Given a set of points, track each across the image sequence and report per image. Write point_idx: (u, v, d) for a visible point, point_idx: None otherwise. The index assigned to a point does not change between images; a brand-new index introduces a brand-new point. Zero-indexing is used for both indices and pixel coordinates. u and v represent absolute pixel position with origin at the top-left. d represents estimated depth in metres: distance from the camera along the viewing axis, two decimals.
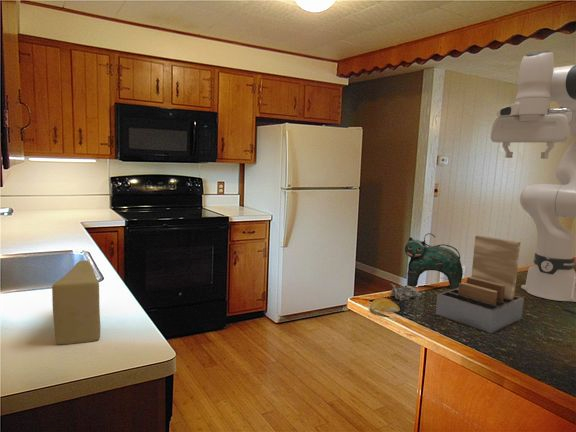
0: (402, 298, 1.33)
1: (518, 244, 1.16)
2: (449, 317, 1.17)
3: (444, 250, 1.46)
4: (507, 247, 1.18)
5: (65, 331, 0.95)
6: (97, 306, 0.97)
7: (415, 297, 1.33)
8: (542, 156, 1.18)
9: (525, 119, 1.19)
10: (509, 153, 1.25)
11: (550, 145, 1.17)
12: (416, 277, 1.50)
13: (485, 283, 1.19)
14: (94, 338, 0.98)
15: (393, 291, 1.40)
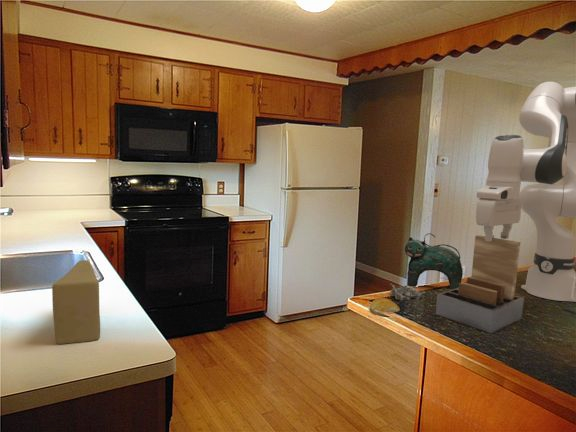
0: (403, 298, 1.33)
1: (518, 244, 1.16)
2: (449, 317, 1.17)
3: (444, 250, 1.46)
4: (507, 247, 1.18)
5: (65, 331, 0.96)
6: (97, 306, 0.98)
7: (415, 297, 1.33)
8: (507, 237, 1.23)
9: (511, 203, 1.17)
10: (493, 237, 1.17)
11: (511, 226, 1.24)
12: (416, 277, 1.50)
13: (485, 283, 1.19)
14: (94, 337, 0.98)
15: (393, 291, 1.40)
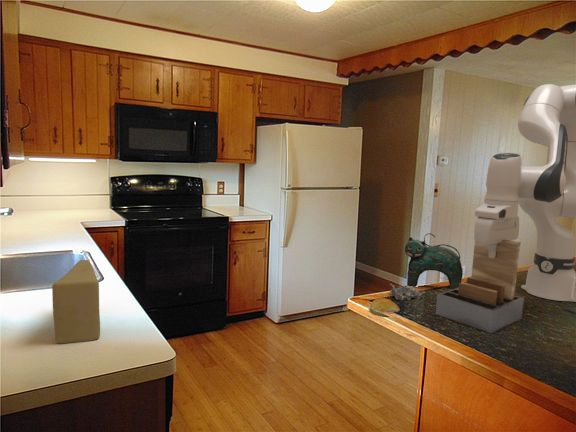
0: (403, 298, 1.33)
1: (518, 244, 1.17)
2: (449, 317, 1.17)
3: (444, 250, 1.46)
4: (507, 247, 1.18)
5: (65, 330, 0.96)
6: (97, 305, 0.98)
7: (416, 297, 1.34)
8: None
9: (509, 221, 1.18)
10: (496, 253, 1.20)
11: None
12: (416, 277, 1.50)
13: (485, 283, 1.19)
14: (94, 337, 0.98)
15: (392, 291, 1.40)
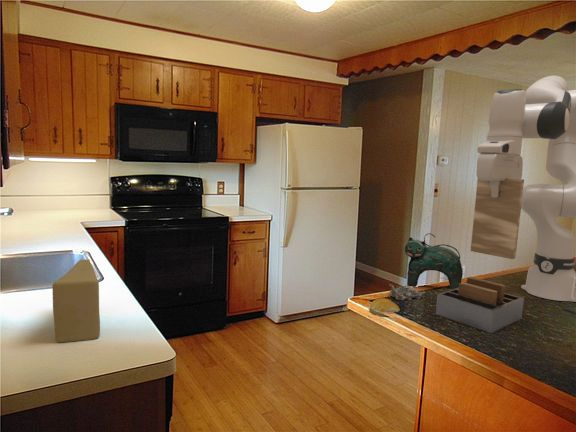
0: None
1: (522, 181, 1.13)
2: (449, 317, 1.17)
3: (444, 250, 1.46)
4: (510, 185, 1.15)
5: (65, 329, 0.97)
6: (97, 304, 0.98)
7: (417, 297, 1.34)
8: None
9: (513, 158, 1.14)
10: (499, 193, 1.17)
11: None
12: (416, 277, 1.50)
13: (485, 283, 1.19)
14: (94, 336, 0.99)
15: (392, 292, 1.39)
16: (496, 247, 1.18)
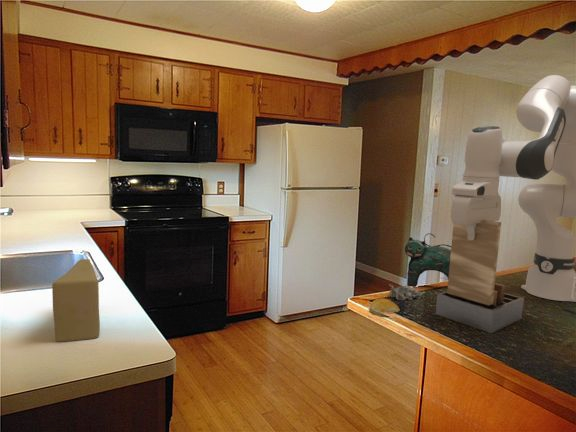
0: None
1: (499, 224, 1.07)
2: (449, 317, 1.17)
3: (444, 250, 1.46)
4: (487, 228, 1.09)
5: (65, 329, 0.97)
6: (96, 304, 0.99)
7: (417, 297, 1.34)
8: None
9: (489, 200, 1.09)
10: (475, 235, 1.11)
11: None
12: (416, 277, 1.50)
13: None
14: (93, 335, 0.99)
15: (392, 292, 1.39)
16: (473, 291, 1.13)
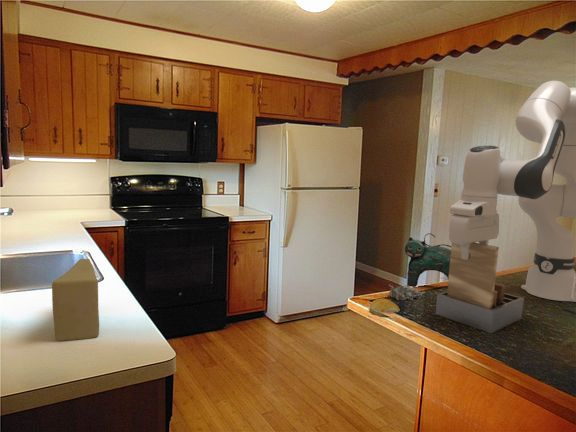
0: None
1: (496, 249, 1.08)
2: (449, 317, 1.17)
3: (444, 250, 1.46)
4: (484, 253, 1.10)
5: (65, 328, 0.97)
6: (96, 303, 0.99)
7: (418, 297, 1.34)
8: None
9: (487, 219, 1.09)
10: (469, 254, 1.10)
11: (487, 243, 1.15)
12: (416, 277, 1.50)
13: None
14: (93, 335, 1.00)
15: (392, 292, 1.39)
16: None
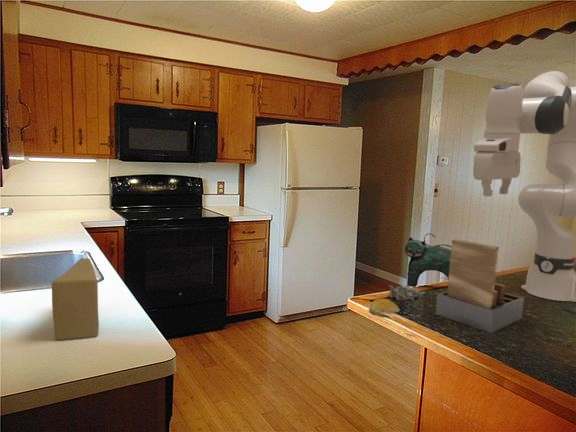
0: None
1: (496, 249, 1.08)
2: (449, 317, 1.17)
3: (444, 250, 1.46)
4: (484, 253, 1.10)
5: (64, 327, 0.98)
6: (95, 303, 0.99)
7: (418, 296, 1.34)
8: (506, 192, 1.18)
9: (510, 156, 1.12)
10: (491, 191, 1.13)
11: (510, 181, 1.19)
12: (416, 277, 1.50)
13: None
14: (92, 334, 1.00)
15: (392, 292, 1.38)
16: None
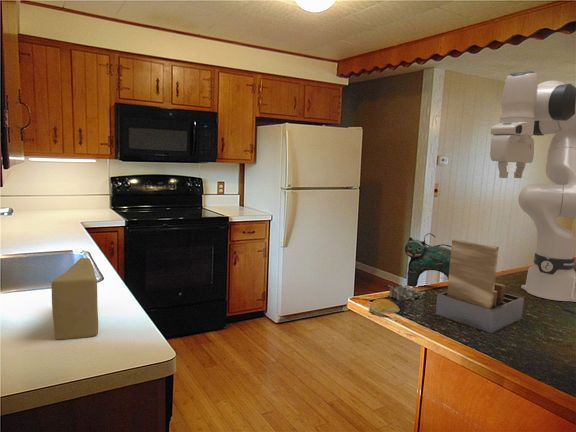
0: None
1: (496, 249, 1.08)
2: (449, 317, 1.17)
3: (444, 250, 1.46)
4: (484, 253, 1.10)
5: (64, 327, 0.98)
6: (95, 302, 1.00)
7: (418, 296, 1.34)
8: (520, 176, 1.23)
9: (525, 140, 1.17)
10: (507, 173, 1.18)
11: (524, 166, 1.24)
12: (416, 277, 1.50)
13: None
14: (92, 334, 1.00)
15: (392, 292, 1.38)
16: None
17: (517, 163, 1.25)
